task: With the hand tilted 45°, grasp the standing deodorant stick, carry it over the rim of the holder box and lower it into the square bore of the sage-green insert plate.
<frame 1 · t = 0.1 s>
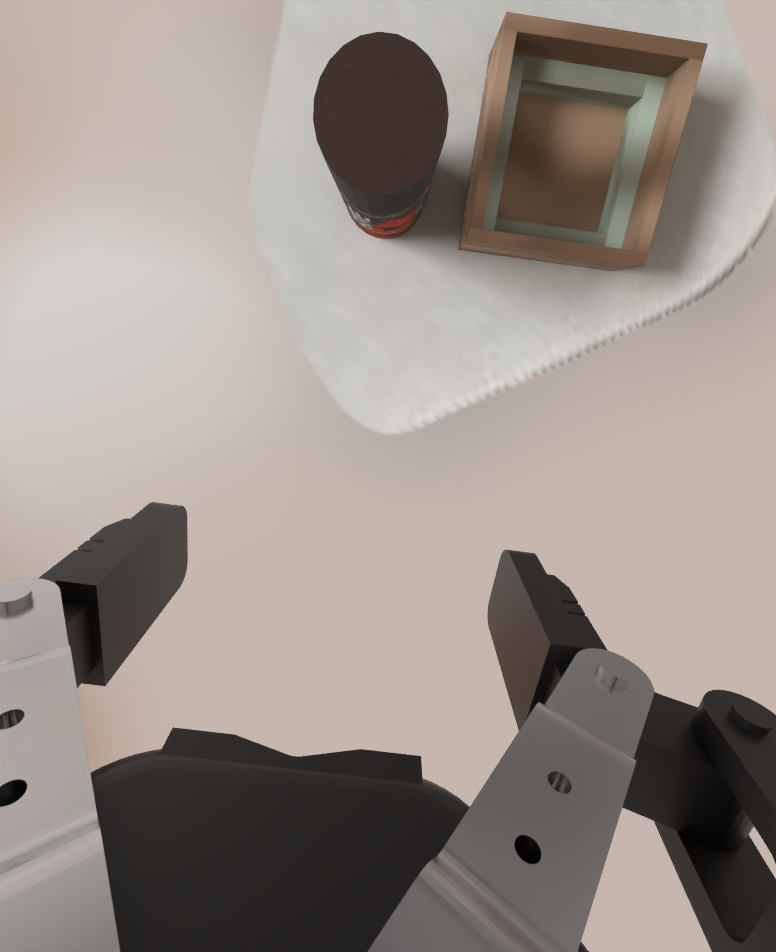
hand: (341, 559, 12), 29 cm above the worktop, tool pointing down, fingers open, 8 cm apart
deodorant: (385, 194, 35), on the worktop
holder box: (554, 170, 34), on the worktop
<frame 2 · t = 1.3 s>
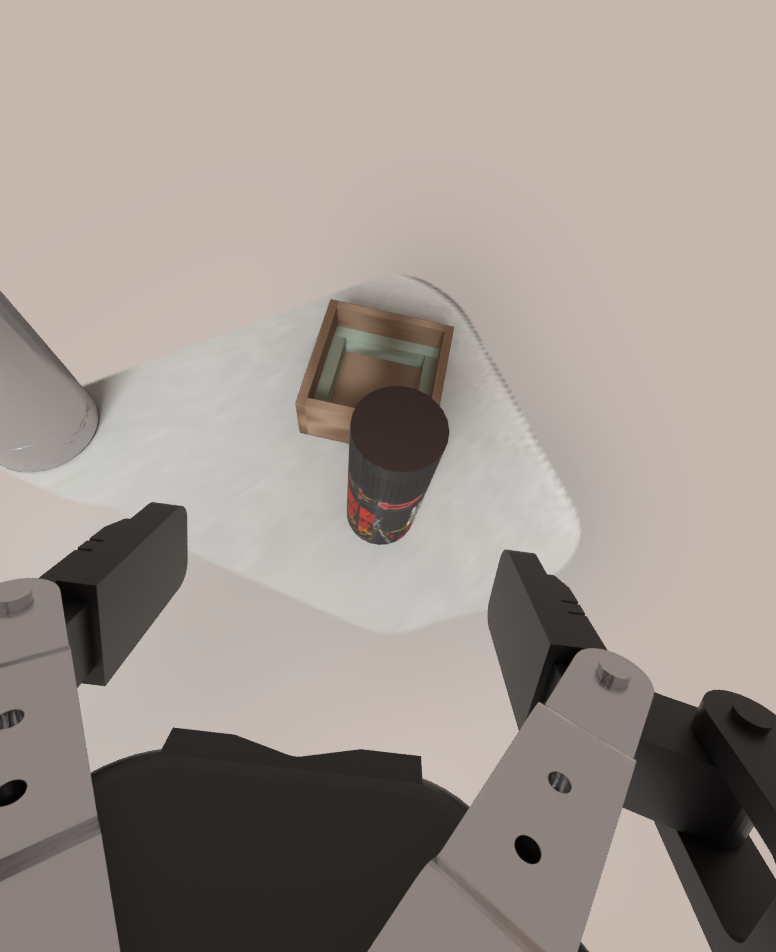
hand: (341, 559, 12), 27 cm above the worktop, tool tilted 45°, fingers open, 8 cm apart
deodorant: (380, 512, 42), on the worktop
holder box: (375, 394, 47), on the worktop
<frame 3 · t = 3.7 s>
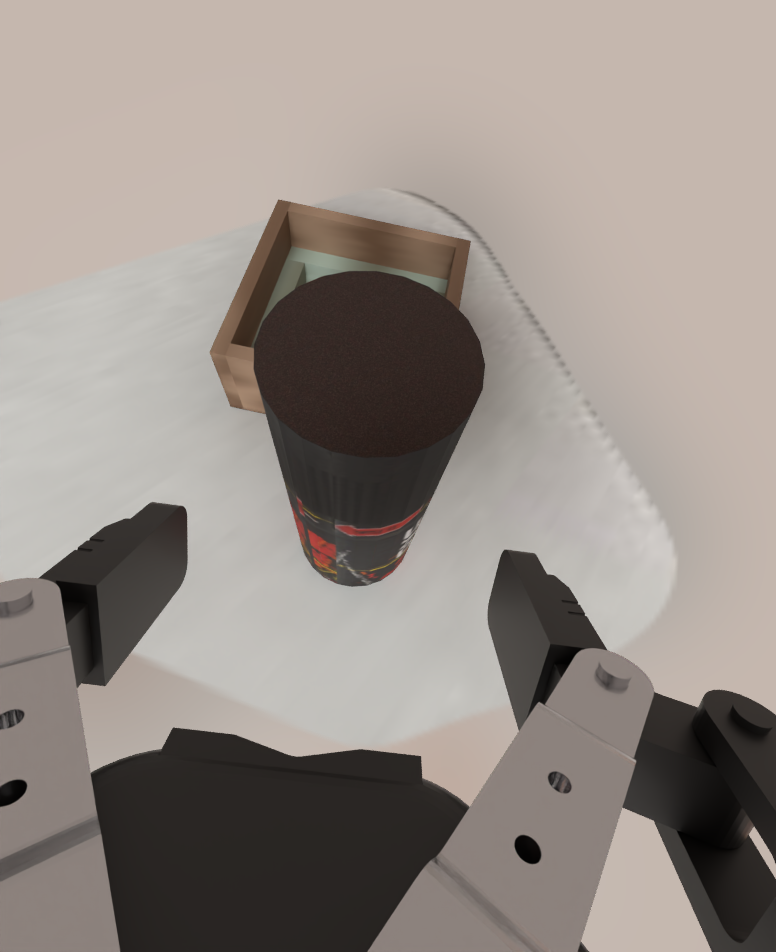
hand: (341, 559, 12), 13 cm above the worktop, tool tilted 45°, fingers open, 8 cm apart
deodorant: (355, 533, 26), on the worktop
holder box: (351, 350, 31), on the worktop
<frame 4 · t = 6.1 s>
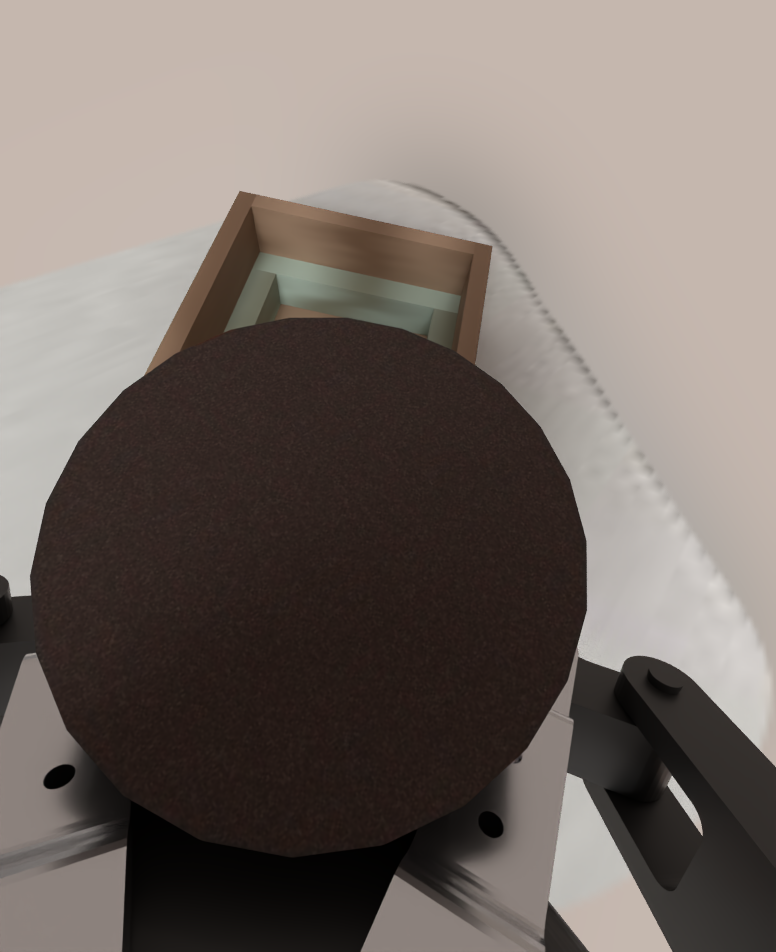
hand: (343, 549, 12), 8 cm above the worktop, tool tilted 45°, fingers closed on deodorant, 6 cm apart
deodorant: (337, 644, 19), on the worktop, touching gripper
holder box: (336, 385, 24), on the worktop
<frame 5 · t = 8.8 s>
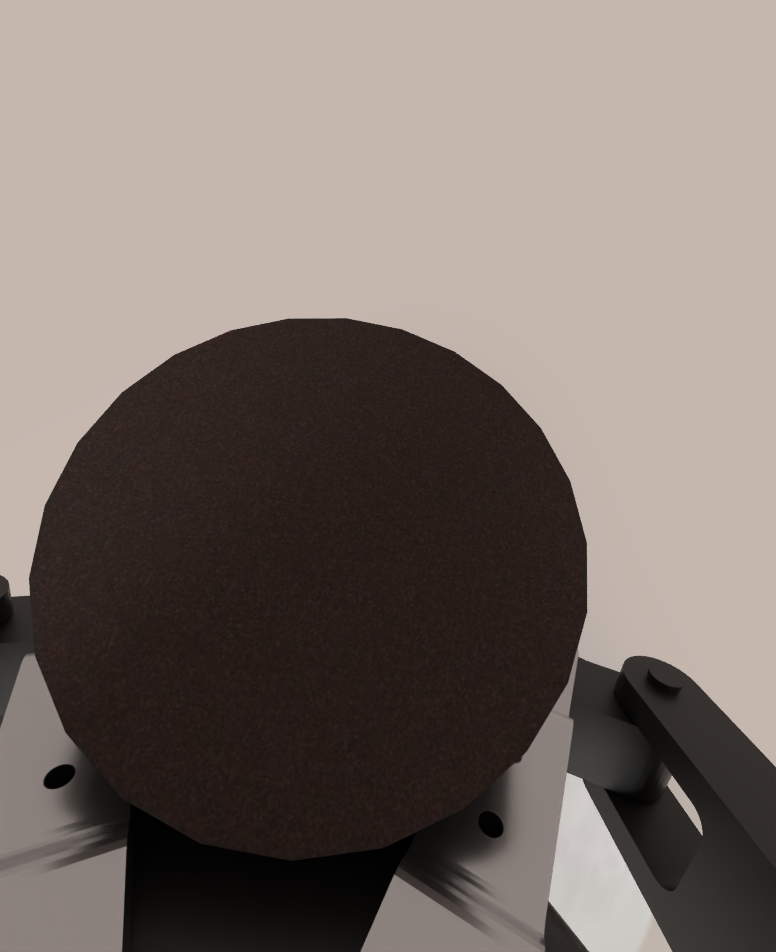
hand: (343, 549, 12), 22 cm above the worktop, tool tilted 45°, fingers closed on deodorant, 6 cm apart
deodorant: (337, 644, 19), point 14 cm above the worktop, touching gripper
when the fingers open (9 cm above the worktop, at t = 11.8 s): deodorant stays where it is, resting on holder box.
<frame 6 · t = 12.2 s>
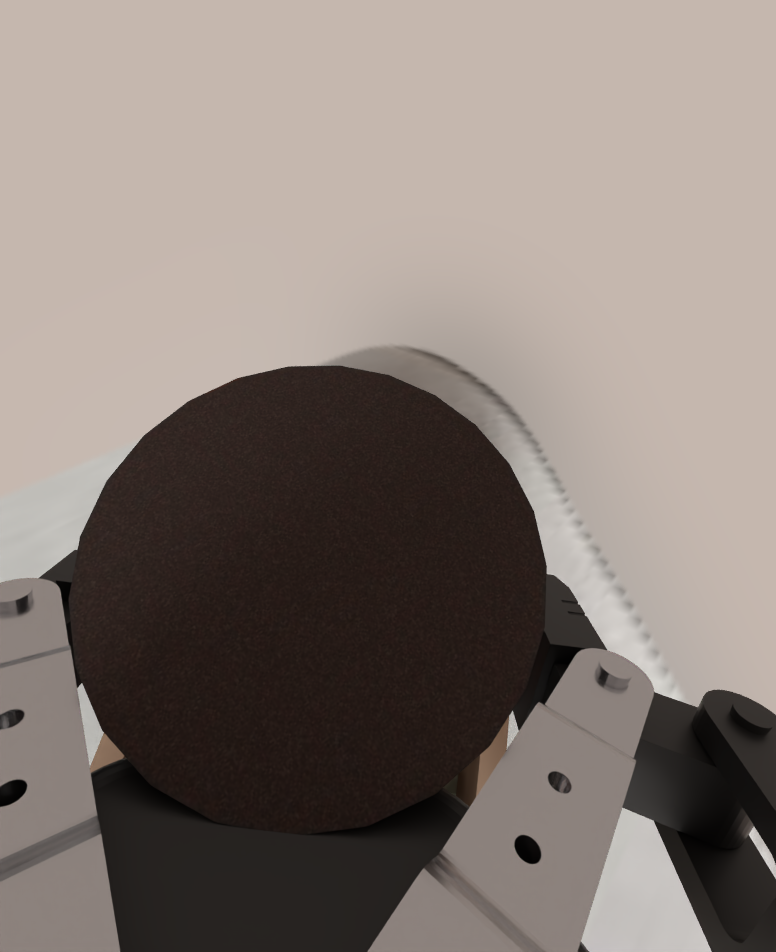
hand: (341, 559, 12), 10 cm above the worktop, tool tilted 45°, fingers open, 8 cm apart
deodorant: (336, 651, 20), resting on holder box
holder box: (337, 646, 20), on the worktop
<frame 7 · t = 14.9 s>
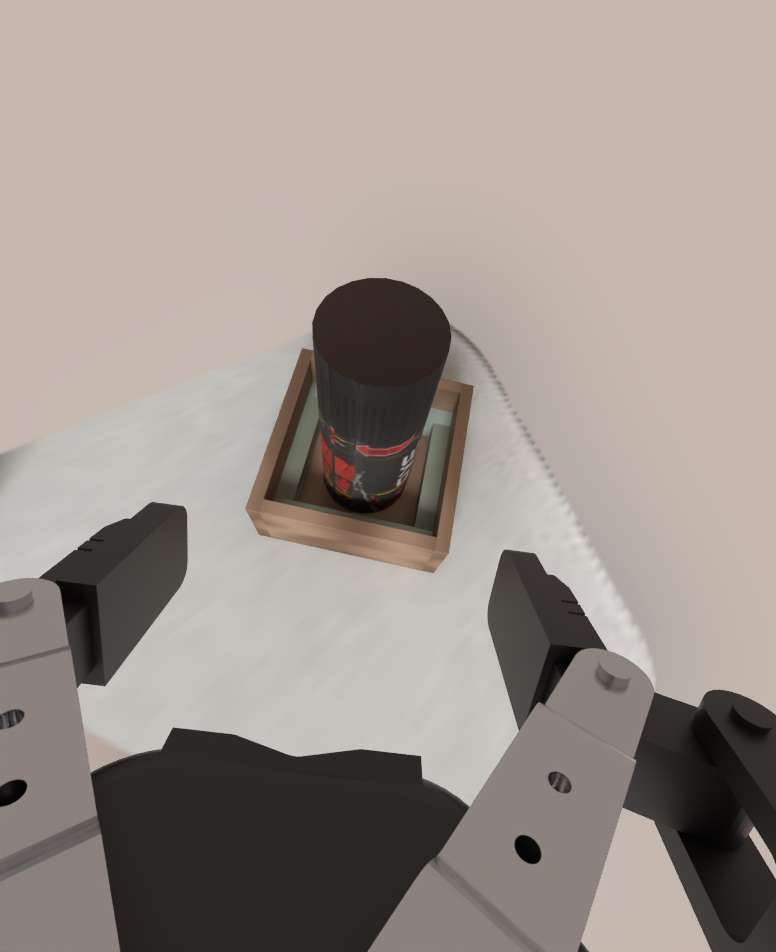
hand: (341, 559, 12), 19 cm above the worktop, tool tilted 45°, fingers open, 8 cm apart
deodorant: (365, 475, 34), resting on holder box
holder box: (365, 474, 34), on the worktop
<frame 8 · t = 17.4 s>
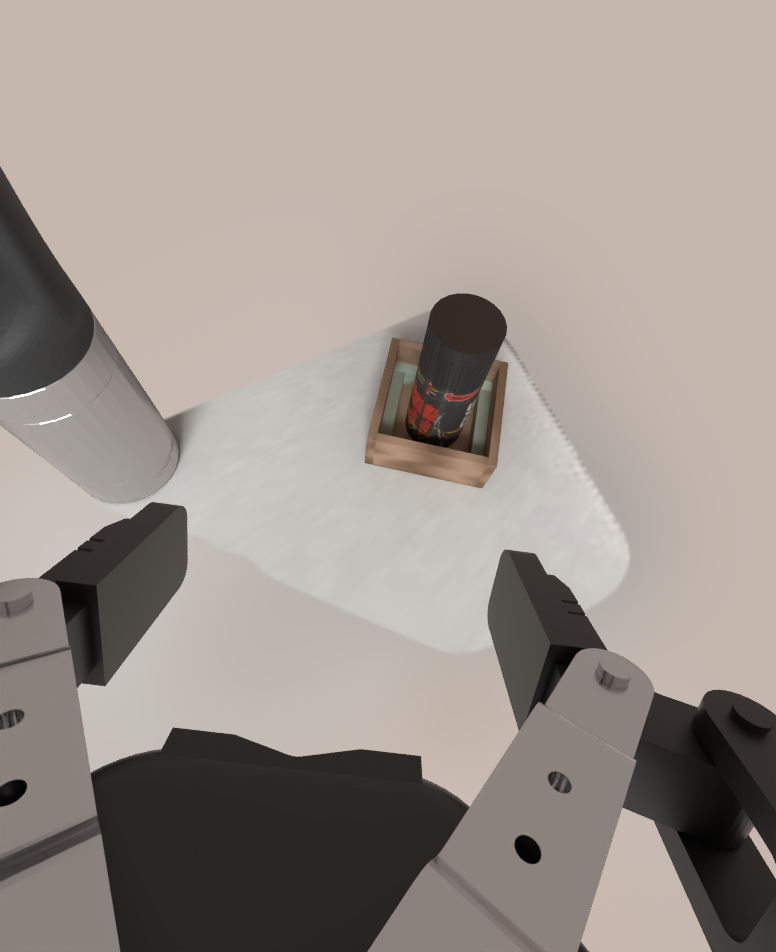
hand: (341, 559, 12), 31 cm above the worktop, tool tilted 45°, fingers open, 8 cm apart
deodorant: (432, 425, 49), resting on holder box
holder box: (432, 425, 50), on the worktop
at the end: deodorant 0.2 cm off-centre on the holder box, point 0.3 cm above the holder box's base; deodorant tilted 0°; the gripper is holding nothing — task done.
